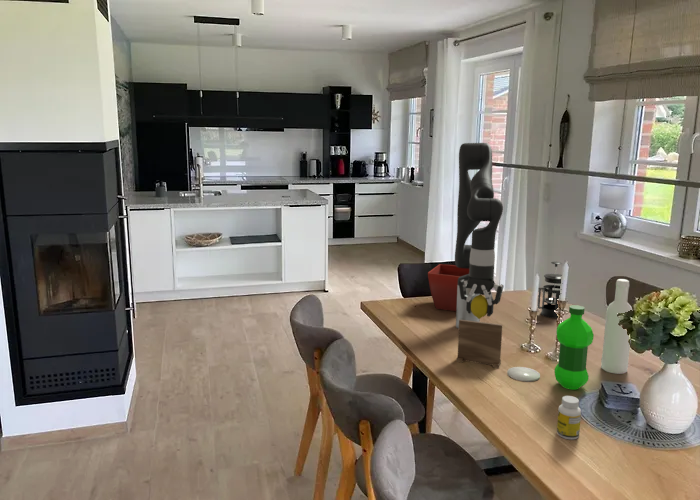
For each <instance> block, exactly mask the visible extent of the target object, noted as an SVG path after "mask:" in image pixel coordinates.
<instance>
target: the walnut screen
mask: <svg viewBox="0 0 700 500" xmlns="http://www.w3.org/2000/svg"><path fill="white" fill-rule="evenodd" d="M502 337H503V324H501V323H500V324H499V323H493V322H485V321H480V322H477V321H469V320H461V319H460V320H459V329H458V339H457V341H458V342H457V358H456V359H455V362H456V363H460V364H461V363H463V362H470V363H477V364H483V365H491V366H492V368H496V369H500V366H501V362H502V358H501V355H502V354H501V353H502V342H503V341H502V340H503V338H502Z"/></svg>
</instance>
